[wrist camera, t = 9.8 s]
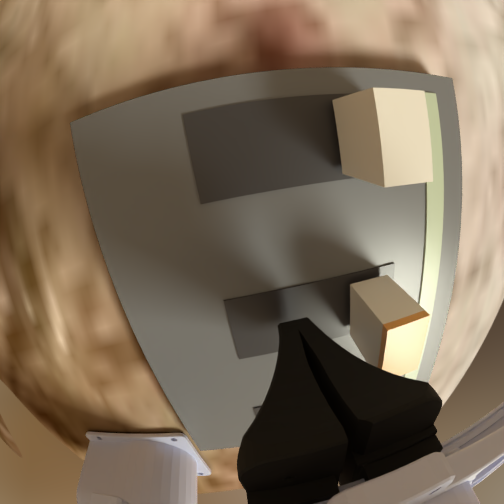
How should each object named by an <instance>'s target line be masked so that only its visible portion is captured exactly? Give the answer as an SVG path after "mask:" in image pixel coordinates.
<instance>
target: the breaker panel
mask: <svg viewBox="0 0 504 504" xmlns="http://www.w3.org/2000/svg"><path fill="white" fill-rule="evenodd" d="M70 126H71V132H72V138H73V143H74V149H75V154H76V159H77V163H78V168H79V173H80V177H81V181H82V185H83V189H84V193H85V197H86V201H87V205H88V208H89V212H90V215H91V219H92V222H93V226H94V229H95V232H96V235H97V238H98V242H99V245H100V248H101V251H102V254H103V257H104V259H105V262H106V265H107V268H108V271H109V273H110V276H111V279H112V281H113V284H114V287H115V289H116V292H117V294H118V297H119V299H120V302H121V304H122V306H123V309H124V311H125V313H126V316H127V318H128V320H129V323H130V325H131V327H132V329H133V332H134V334H135V336H136V338H137V340H138V342H139V344H140V346H141V349H142V351H143V353H144V355H145V357H146V359H147V361H148V363H149V365H150V367H151V369H152V370H153V372H154V374H155V376H156V378H157V380H158V382H159V384H160V385H161V387H162V389H163V391H164V393H165V394H166V396H167V398H168V400H169V401H170V403H171V405H172V407H173V408H174V410H175V412H176V413H177V415H178V417H179V418H180V420H181V421H182V423H183V425H184V426H185V428H186V429H187V431H188V433H189V434H190V436H191V437H192V439H193V440H194V442H195V443H196V445H197V446H198V448H199V449H200V451H203V450H214V449H224V448H233V447H240V445H241V441H242V438H243V436H244V434H245V433H246V431H247V430H248V428H249V427H250V425H251V424H252V422H253V421H254V419H255V417H256V415H257V413H258V412H259V410H260V408H261V406H262V404H263V402H264V400H265V397H266V395H267V392H268V390H269V387H270V384H271V381H272V378H273V375H274V371H275V367H276V362H277V357H278V349H279V333H278V325H279V323H283V322H287V321H292V320H297V319H301V318H305V317H308V318H309V319H310V320H311V321H312V322H313V323H314V324H315V325H316V326H317V327H318V328H319V329H321V330H322V331H323V332H324V333H325V334H326V335H327V336H329V337H330V338H331V339H332V340H334V341H335V342H336V343H337V344H339V345H340V346H341V347H343V348H344V349H346V350H347V351H348V352H350V353H351V354H353V355H355V356H356V357H358V358H360V359H361V360H363V361H365V359H364V357H363V356H362V354H361V352H360V351H359V349H358V347H357V346H356V344H355V342H354V341H353V339H352V337H351V336H350V284H353V283H357V282H361V281H365V280H369V279H372V278H376V277H380V276H384V275H388V276H389V277H390V278H391V279H392V280H394V281H395V282H396V283H397V284H398V285H399V286H400V287H401V288H402V289H403V290H404V291H405V292H406V293H408V294H409V295H410V296H411V297H412V298H413V299H414V300H415V301H416V302H417V303H418V304H419V305H420V306H421V307H422V308H423V309H424V310H425V311H426V312H427V313H428V314H429V315H430V319H429V324H428V329H427V333H426V338H425V342H424V346H423V350H422V354H421V358H420V362H419V366H418V369H416V370H414V371H411V372H409V373H406V374H404V375H401V376H402V377H406V378H410V379H414V380H419V381H424V382H429V379H430V376H431V373H432V370H433V367H434V364H435V360H436V357H437V354H438V350H439V347H440V343H441V340H442V336H443V332H444V328H445V324H446V320H447V315H448V311H449V306H450V301H451V296H452V290H453V285H454V279H455V272H456V265H457V258H458V249H459V239H460V228H461V211H462V157H461V141H460V129H459V120H458V111H457V104H456V97H455V91H454V86H453V80H452V78H448V77H443V76H437V75H431V74H424V73H417V72H409V71H400V70H389V69H375V68H350V67H324V68H298V69H284V70H273V71H263V72H255V73H247V74H240V75H233V76H227V77H221V78H216V79H210V80H205V81H200V82H196V83H191V84H187V85H182V86H178V87H174V88H170V89H166V90H162V91H159V92H155V93H152V94H148V95H145V96H141V97H138V98H135V99H132V100H129V101H126V102H123V103H120V104H117V105H114V106H111V107H108V108H106V109H103V110H100V111H98V112H95V113H92V114H90V115H87V116H85V117H82V118H80V119H78V120H75V121H73V122H71V123H70ZM365 362H366V361H365Z"/></svg>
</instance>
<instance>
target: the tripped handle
mask: <svg viewBox="0 0 504 504" xmlns="http://www.w3.org/2000/svg"><path fill="white" fill-rule="evenodd" d="M429 319H430V315H429V314H428V313H427V312H426V311H425V310H424V309H423V308H422V307H421V306H420V305H419V304H418V303H417V302H416V301H415V300H414V299H413V298H412V297H411V296H410V295H409V294H408V293H406V292H405V291H404V290H403V289H402V288H401V287H400V286H399V285H398V284H397V283H396V282H395V281H394V280H392V279H391V278H390V277H389V276H388V275H384V276H380V277H376V278H372V279H369V280H365V281H361V282H357V283H353V284H350V336H351V337H352V339H353V341H354V342H355V344H356V346H357V347H358V349H359V351H360V352H361V354H362V356H363V357H364V359H365V361H366V362H367V363H369V364H371V365H373V366H375V367H378V368H380V369H382V370H385V371H387V372H390V373H393V374H396V375H399V376H401V375H404V374H406V373H409V372H411V371H414V370H416V369H418V366H419V362H420V358H421V354H422V350H423V346H424V342H425V338H426V333H427V329H428V324H429Z"/></svg>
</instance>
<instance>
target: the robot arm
mask: <svg viewBox="0 0 504 504" xmlns="http://www.w3.org/2000/svg"><path fill="white" fill-rule="evenodd" d="M278 333H279V349H278V357H277V362H276V367H275V371H274V375H273V378H272V381H271V384H270V387H269V390H268V392H267V395H266V397H265V400H264V402H263V404H262V406H261V408H260V410H259V412H258V413H257V415H256V417H255V419H254V421H253V422H252V424H251V425H250V427H249V428H248V430H247V431H246V433H245V434H244V436H243V438H242V441H241V445H240V449H239V453H238V459H237V470H238V478H239V481H240V482H241V484H242V486H243V487H244V489H245V490H246V492H247V499H248V504H480V502H479V500H478V498H477V496H476V494H475V493H474V491H473V489H472V487H474V486H475V485H476V484H478V483H479V482H481V481H482V480H483V479H484V478H486V477H487V476H488V475H490V474H491V473H492V472H493V471H495V470H496V469H497V468H498V467H499V466H500V465H502V464H503V463H504V402H503V403H502V404H500V405H499V406H498V407H496V408H495V409H494V410H492V411H491V412H490V413H488V414H487V415H486V416H484V417H483V418H481V419H480V420H478V421H477V422H475V423H474V424H472V425H471V426H469V427H468V428H466V429H465V430H463V431H461V432H460V433H458V434H456V435H455V436H453V437H451V438H450V439H448V440H446V441H444V442H443V443H440V441H439V440H438V438H437V437H436V435H435V434H436V433H437V429H436V428H435V426H434V422H435V420H436V418H437V416H438V414H439V412H440V409H441V407H442V400H441V398H440V397H439V395H438V394H437V393H436V391H435V390H434V389H433V388H432V387H431V386H430V385H429V383H428V382H424V381H419V380H414V379H410V378H406V377H402V376H399V375H396V374H393V373H390V372H387V371H385V370H382V369H380V368H378V367H375V366H373V365H371V364H369V363H367V362H365V361H363V360H361V359H360V358H358V357H356V356H355V355H353V354H351V353H350V352H348V351H347V350H346V349H344V348H343V347H341V346H340V345H339V344H337V343H336V342H335V341H334V340H332V339H331V338H330V337H329V336H327V335H326V334H325V333H324V332H323V331H322V330H321V329H319V328H318V327H317V326H316V325H315V324H314V323H313V322H312V321H311V320H310V319H309V318H308V317H305V318H301V319H297V320H292V321H287V322H283V323H279V325H278ZM86 437H87V438H88V439H89V440H90V442H89V446H88V449H87V453H86V456H85V460H84V464H83V468H82V471H81V475H80V479H79V483H78V487H77V503H78V504H197V476H204V475H210V474H211V470H210V468H209V467H208V466H207V464H206V463H205V462H204V460H203V459H202V458H201V456H200V455H199V453H198V452H197V451H196V449H195V448H194V446H193V445H192V443H191V442H190V440H189V439H188V437H187V436H186V435H185V434H183V433H159V434H126V433H103V432H90V431H88V432H86ZM338 482H339V484H340V486H338Z"/></svg>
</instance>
